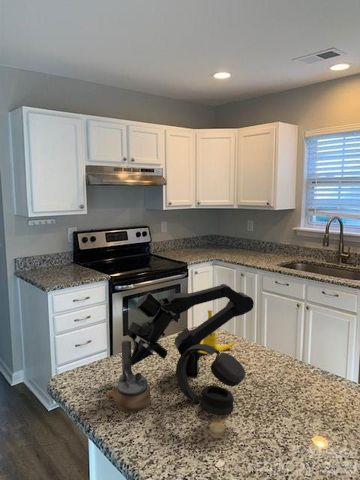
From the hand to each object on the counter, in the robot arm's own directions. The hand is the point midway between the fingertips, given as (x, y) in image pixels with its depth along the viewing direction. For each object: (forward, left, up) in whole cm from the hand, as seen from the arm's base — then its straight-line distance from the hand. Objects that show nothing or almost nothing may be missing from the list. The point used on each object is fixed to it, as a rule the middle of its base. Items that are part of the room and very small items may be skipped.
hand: (130, 364), depth 120 cm
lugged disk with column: (-2, +6, -7) cm, 9 cm away
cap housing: (-2, +8, -8) cm, 11 cm away
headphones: (-27, +5, -8) cm, 29 cm away
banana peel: (-20, -39, -8) cm, 44 cm away
